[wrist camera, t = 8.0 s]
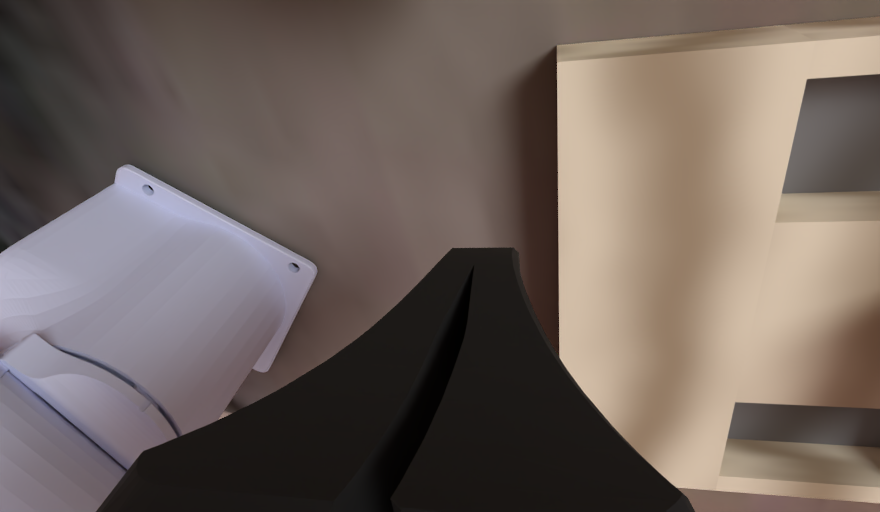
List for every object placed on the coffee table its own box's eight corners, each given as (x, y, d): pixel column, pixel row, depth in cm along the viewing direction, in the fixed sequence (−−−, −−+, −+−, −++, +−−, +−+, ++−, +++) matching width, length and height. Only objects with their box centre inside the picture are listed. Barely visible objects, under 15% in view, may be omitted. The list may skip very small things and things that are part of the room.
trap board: (560, 436, 28) (560, 517, 24) (556, 45, 18) (557, 79, 14) (993, 462, 24) (1075, 565, 20) (1286, -20, 14) (1551, 4, 10)
